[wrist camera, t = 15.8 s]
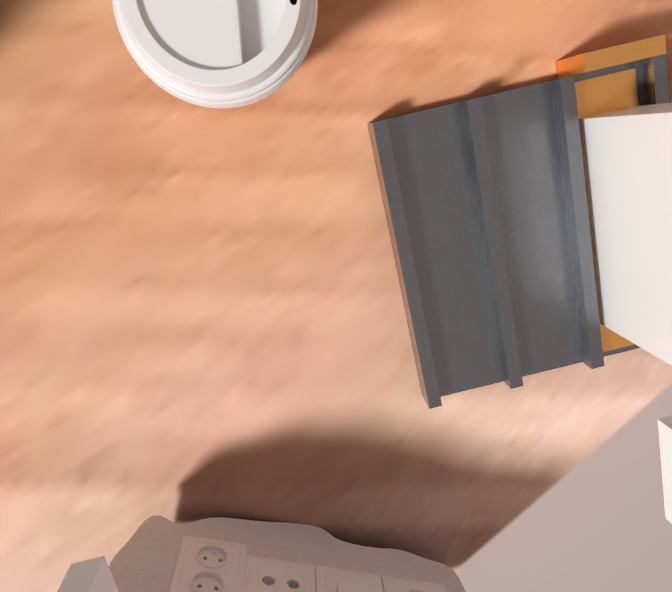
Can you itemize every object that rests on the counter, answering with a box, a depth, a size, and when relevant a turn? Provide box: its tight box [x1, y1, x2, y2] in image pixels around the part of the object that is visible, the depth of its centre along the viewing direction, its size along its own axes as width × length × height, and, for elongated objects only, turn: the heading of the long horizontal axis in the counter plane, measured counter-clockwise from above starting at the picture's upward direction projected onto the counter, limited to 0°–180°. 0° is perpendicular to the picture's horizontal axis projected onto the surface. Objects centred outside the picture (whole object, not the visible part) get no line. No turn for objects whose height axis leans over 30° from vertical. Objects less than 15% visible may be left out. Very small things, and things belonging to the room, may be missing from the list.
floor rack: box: [368, 34, 670, 409], centre depth 43 cm, size 23×21×4 cm
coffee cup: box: [112, 0, 318, 108], centre depth 32 cm, size 10×10×15 cm
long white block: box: [580, 103, 672, 366], centre depth 38 cm, size 16×4×12 cm, turn 13°
